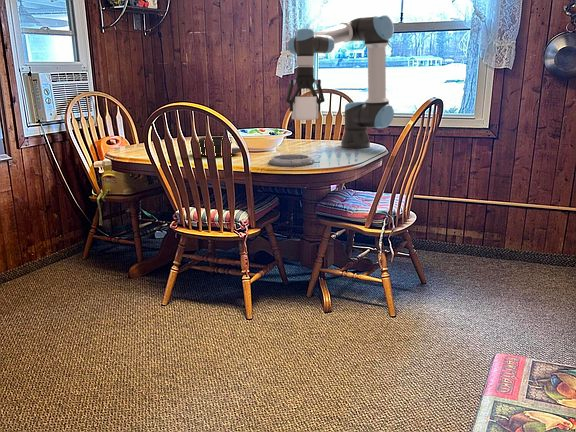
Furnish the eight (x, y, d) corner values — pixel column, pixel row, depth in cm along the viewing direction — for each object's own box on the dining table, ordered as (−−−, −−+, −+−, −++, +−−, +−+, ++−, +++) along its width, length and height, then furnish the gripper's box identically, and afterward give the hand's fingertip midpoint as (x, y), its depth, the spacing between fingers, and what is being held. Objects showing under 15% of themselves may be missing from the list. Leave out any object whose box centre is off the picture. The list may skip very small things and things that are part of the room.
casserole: (243, 152, 276) (242, 135, 274) (238, 158, 258) (237, 140, 256) (194, 152, 277) (193, 136, 275) (185, 158, 259) (184, 140, 257)
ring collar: (306, 158, 254) (306, 152, 253) (320, 165, 235) (320, 159, 235) (264, 160, 249) (264, 155, 248) (274, 167, 230) (274, 161, 230)
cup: (314, 120, 237) (314, 96, 235) (291, 120, 239) (291, 96, 237) (317, 118, 247) (318, 96, 244) (296, 118, 248) (296, 95, 246)
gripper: (327, 66, 244) (326, 117, 249) (277, 66, 238) (278, 118, 243) (332, 66, 236) (331, 118, 242) (281, 66, 231) (282, 120, 236)
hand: (304, 118), depth 243 cm, fingers closed on cup, 10 cm apart
